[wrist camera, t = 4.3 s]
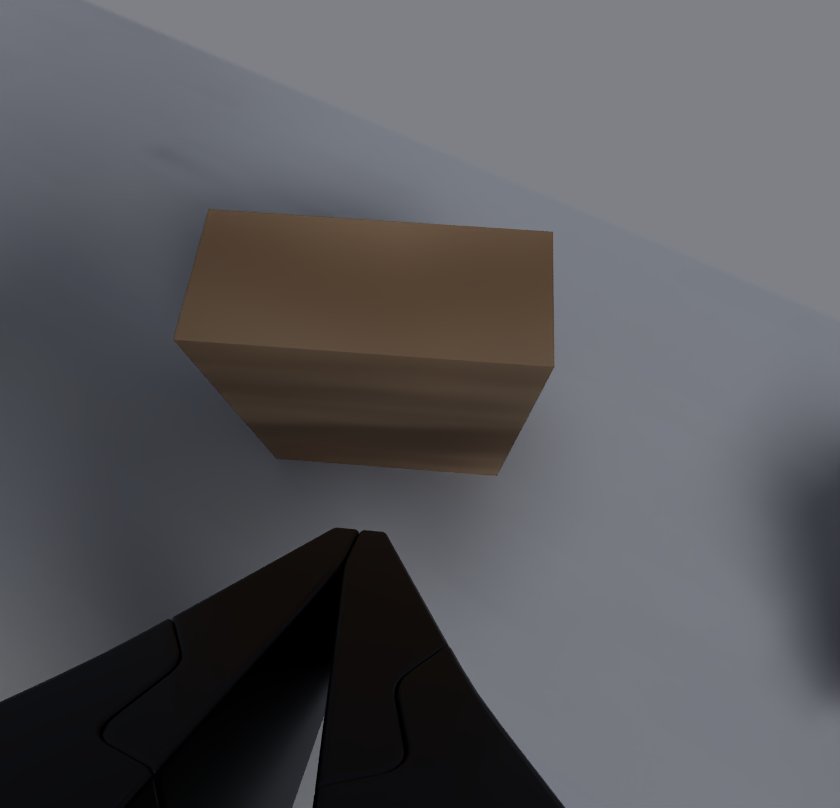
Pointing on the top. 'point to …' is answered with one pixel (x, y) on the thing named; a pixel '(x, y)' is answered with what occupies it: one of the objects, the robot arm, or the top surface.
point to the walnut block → (373, 336)
